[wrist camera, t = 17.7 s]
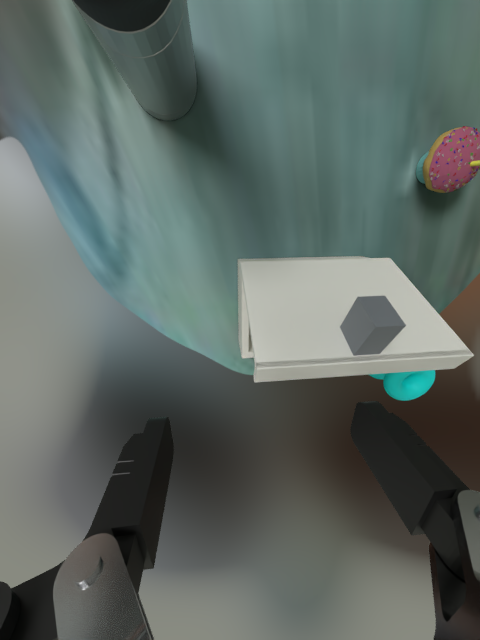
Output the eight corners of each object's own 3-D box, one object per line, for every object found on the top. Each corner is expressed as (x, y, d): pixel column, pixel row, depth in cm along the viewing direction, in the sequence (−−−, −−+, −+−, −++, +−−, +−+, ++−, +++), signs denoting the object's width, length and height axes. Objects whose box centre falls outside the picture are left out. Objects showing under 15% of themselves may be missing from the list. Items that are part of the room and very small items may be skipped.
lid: (239, 276, 38) (241, 230, 31) (380, 272, 40) (408, 228, 34) (254, 382, 26) (262, 341, 20) (454, 368, 28) (517, 327, 22)
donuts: (390, 409, 48) (390, 371, 44) (362, 378, 57) (359, 345, 53) (437, 395, 47) (441, 356, 43) (401, 367, 57) (402, 333, 53)
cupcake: (462, 161, 40) (556, 138, 29) (423, 206, 42) (496, 201, 31) (433, 124, 37) (525, 83, 26) (394, 174, 39) (462, 156, 28)
